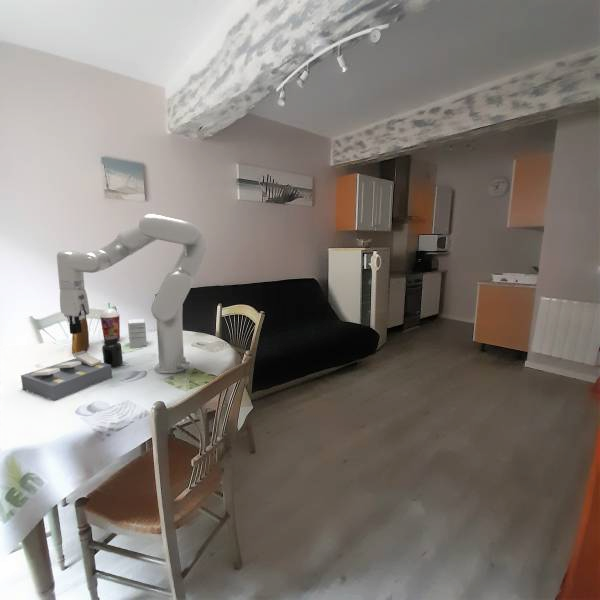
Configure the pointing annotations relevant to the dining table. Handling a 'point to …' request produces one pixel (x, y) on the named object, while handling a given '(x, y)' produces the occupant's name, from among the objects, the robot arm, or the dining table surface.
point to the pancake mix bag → (81, 338)
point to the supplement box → (137, 333)
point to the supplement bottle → (112, 352)
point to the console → (66, 379)
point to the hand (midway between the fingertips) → (75, 332)
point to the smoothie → (110, 322)
